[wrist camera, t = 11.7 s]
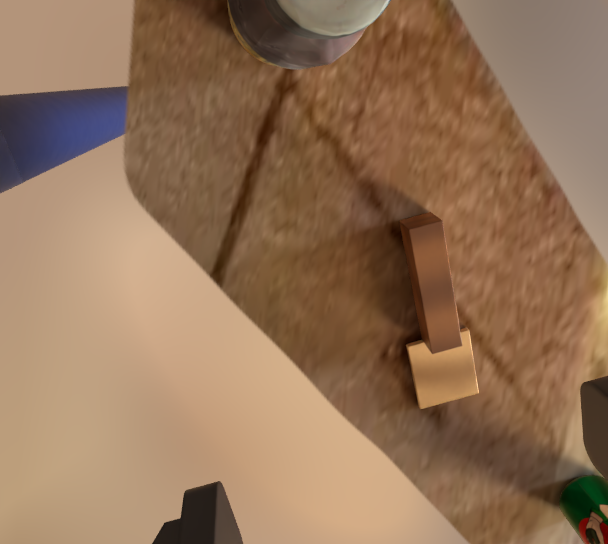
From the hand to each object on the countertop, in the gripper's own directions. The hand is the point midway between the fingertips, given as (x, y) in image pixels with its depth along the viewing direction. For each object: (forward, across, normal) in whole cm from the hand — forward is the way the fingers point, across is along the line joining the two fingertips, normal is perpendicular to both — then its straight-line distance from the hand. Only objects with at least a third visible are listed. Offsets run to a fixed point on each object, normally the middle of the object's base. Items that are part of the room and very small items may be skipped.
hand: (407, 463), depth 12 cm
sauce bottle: (+28, -2, -12) cm, 30 cm away
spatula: (+28, -9, +11) cm, 31 cm away
